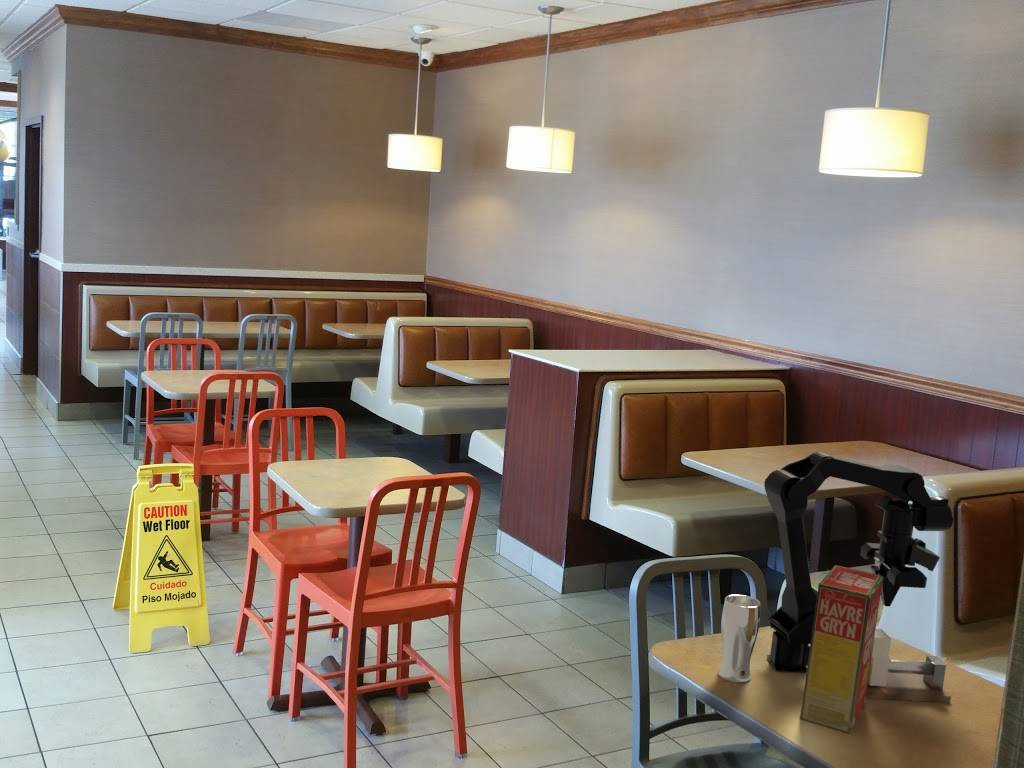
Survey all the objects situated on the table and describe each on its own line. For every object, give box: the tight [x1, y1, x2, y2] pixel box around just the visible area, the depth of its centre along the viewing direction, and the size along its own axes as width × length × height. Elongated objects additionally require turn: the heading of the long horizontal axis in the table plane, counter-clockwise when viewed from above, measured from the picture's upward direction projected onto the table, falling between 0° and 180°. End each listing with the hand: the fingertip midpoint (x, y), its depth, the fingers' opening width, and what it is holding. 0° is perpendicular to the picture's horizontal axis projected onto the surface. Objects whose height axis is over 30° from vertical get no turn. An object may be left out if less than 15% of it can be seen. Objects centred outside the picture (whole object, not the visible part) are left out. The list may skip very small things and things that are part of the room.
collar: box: [868, 628, 892, 686], centre depth 194 cm, size 3×6×9 cm, turn 2°
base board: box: [866, 673, 952, 703], centre depth 195 cm, size 18×9×1 cm, turn 92°
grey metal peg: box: [888, 655, 947, 690], centre depth 194 cm, size 17×4×5 cm, turn 92°
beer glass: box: [717, 594, 761, 684], centre depth 194 cm, size 7×7×15 cm
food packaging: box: [799, 564, 884, 735], centre depth 181 cm, size 13×9×25 cm
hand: (886, 605), depth 205 cm, fingers closed
